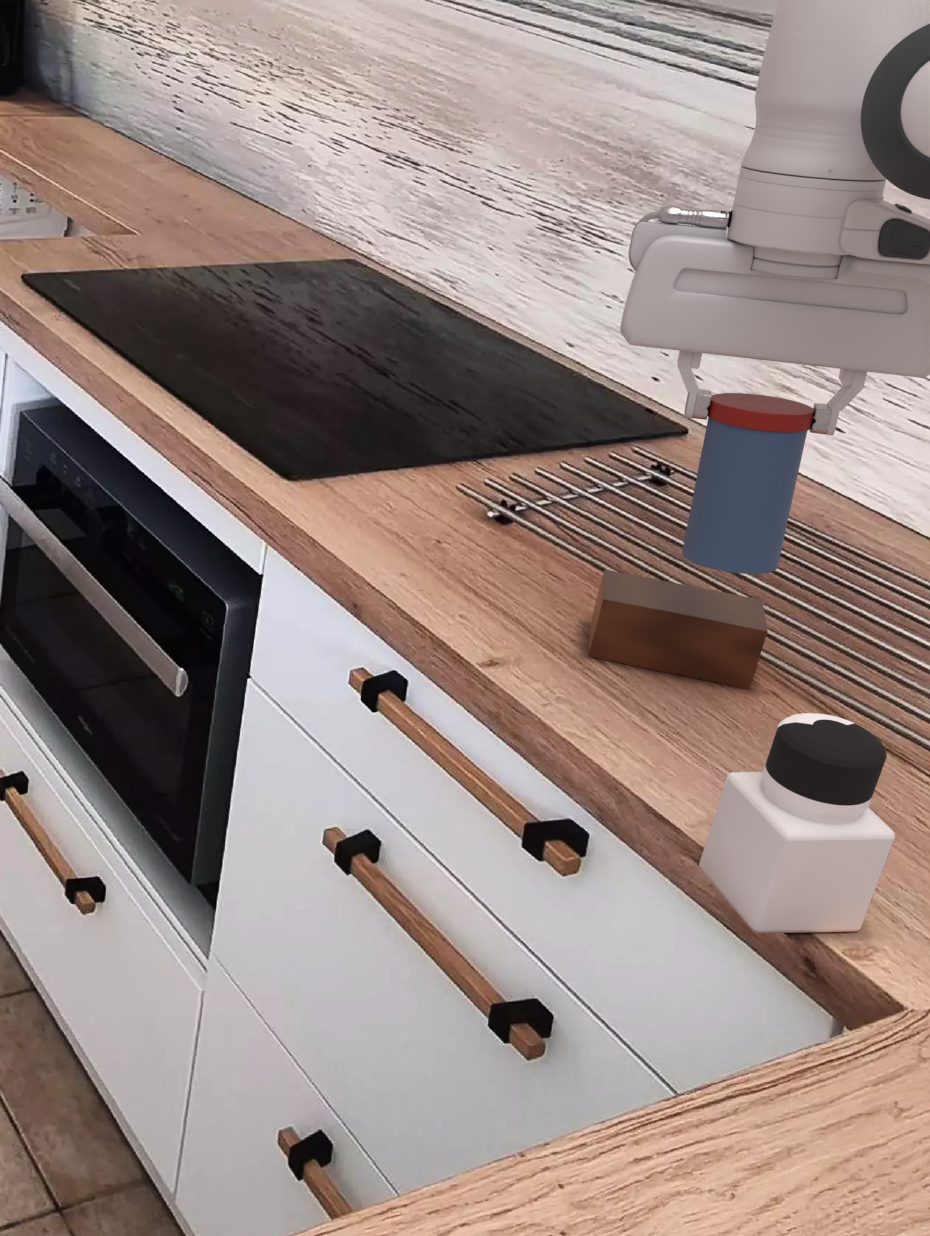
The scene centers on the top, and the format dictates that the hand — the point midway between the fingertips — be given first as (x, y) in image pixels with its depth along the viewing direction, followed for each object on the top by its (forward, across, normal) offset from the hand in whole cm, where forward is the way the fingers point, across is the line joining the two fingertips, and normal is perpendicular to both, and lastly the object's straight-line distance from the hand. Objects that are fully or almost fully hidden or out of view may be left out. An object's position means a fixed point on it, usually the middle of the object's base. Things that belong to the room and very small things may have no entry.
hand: (758, 425), depth 119 cm
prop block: (+21, -2, +10) cm, 23 cm away
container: (+4, 0, 0) cm, 4 cm away
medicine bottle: (+24, +5, -23) cm, 33 cm away
